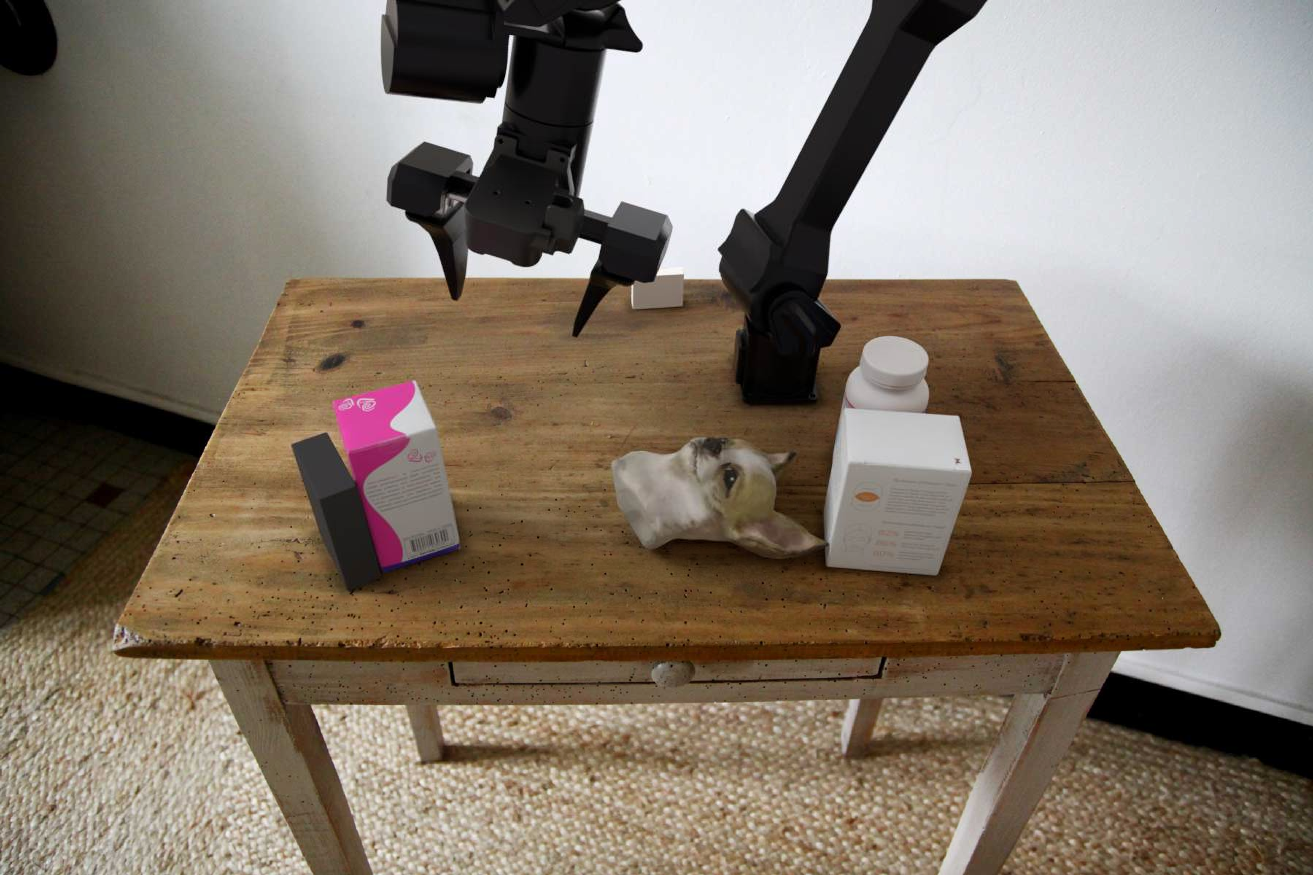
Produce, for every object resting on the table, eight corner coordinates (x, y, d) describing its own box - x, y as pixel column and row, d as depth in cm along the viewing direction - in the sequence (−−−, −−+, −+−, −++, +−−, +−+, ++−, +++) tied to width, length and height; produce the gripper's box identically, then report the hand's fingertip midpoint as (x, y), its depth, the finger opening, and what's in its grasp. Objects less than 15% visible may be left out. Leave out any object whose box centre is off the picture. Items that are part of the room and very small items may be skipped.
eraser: (682, 306, 90) (684, 273, 87) (633, 310, 89) (633, 277, 87) (680, 299, 91) (682, 266, 88) (631, 302, 90) (631, 269, 87)
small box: (928, 520, 69) (963, 414, 62) (938, 578, 65) (976, 471, 58) (821, 511, 70) (843, 404, 63) (823, 568, 66) (847, 460, 59)
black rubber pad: (353, 522, 68) (326, 431, 62) (381, 577, 64) (356, 485, 58) (320, 535, 67) (290, 443, 61) (348, 592, 63) (318, 500, 57)
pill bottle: (912, 452, 75) (944, 339, 67) (901, 503, 71) (934, 388, 63) (838, 434, 76) (861, 322, 69) (823, 483, 72) (846, 369, 64)
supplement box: (441, 495, 70) (418, 376, 62) (462, 550, 66) (440, 430, 58) (363, 517, 68) (330, 397, 60) (380, 575, 64) (347, 455, 56)
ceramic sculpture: (605, 393, 65) (809, 389, 68) (600, 480, 71) (787, 473, 74) (621, 502, 58) (850, 493, 60) (613, 589, 64) (823, 578, 66)
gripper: (353, 102, 52) (346, 332, 62) (668, 198, 52) (613, 414, 62) (427, 54, 61) (411, 262, 71) (697, 136, 61) (645, 333, 70)
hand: (516, 316), depth 68 cm, fingers open, 9 cm apart
